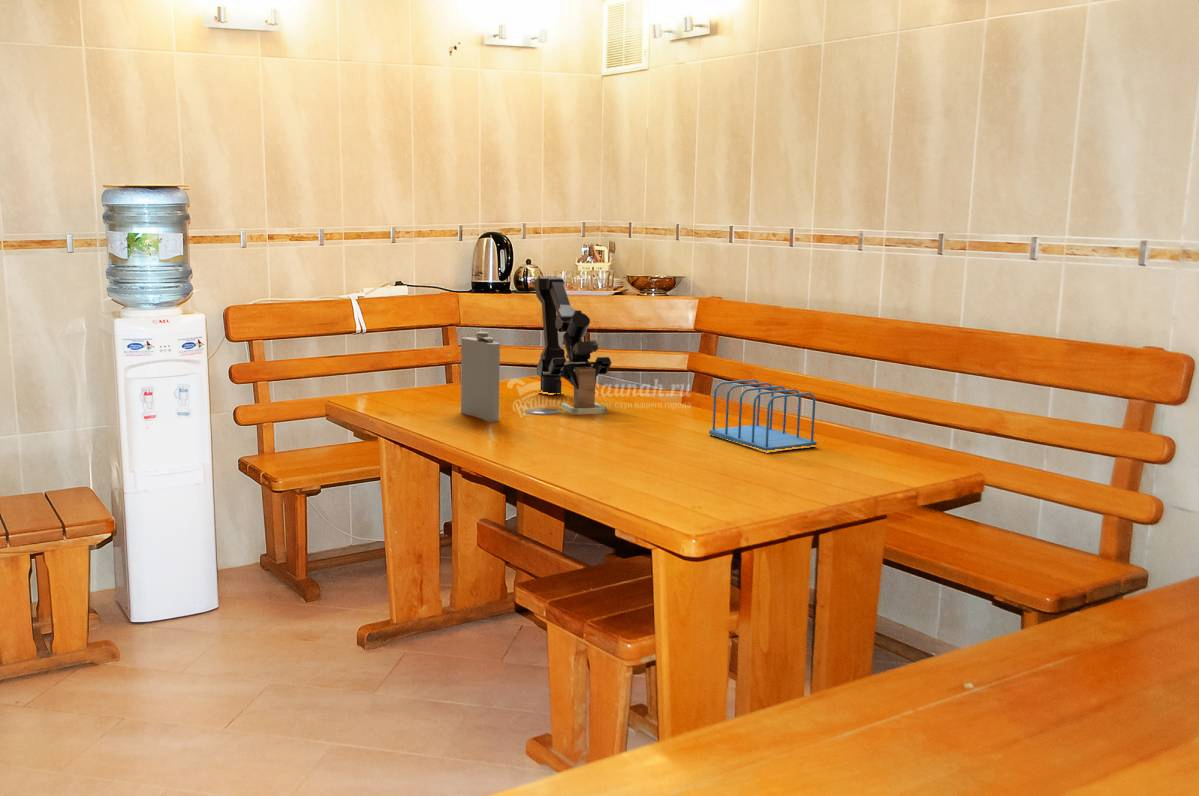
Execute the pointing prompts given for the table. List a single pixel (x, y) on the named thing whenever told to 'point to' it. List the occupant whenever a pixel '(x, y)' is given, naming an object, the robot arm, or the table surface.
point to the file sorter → (765, 435)
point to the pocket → (584, 409)
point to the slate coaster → (542, 411)
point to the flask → (480, 377)
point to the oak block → (584, 387)
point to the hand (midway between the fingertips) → (586, 388)
